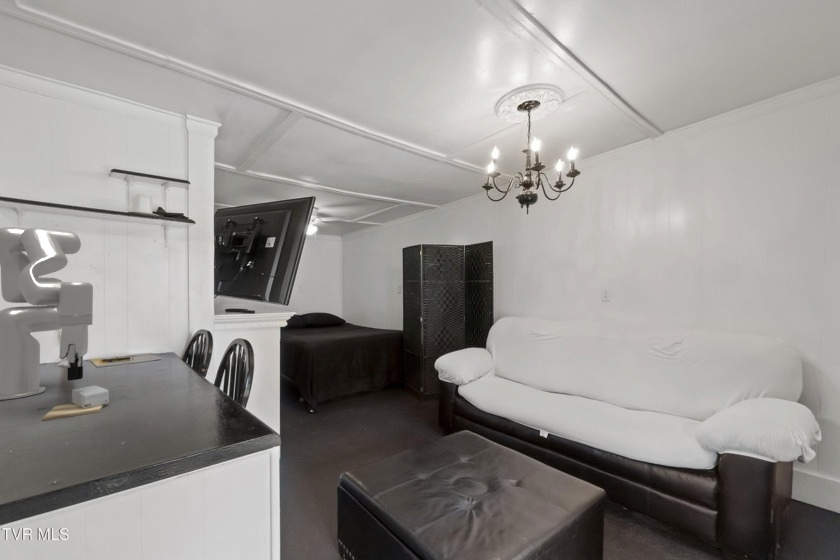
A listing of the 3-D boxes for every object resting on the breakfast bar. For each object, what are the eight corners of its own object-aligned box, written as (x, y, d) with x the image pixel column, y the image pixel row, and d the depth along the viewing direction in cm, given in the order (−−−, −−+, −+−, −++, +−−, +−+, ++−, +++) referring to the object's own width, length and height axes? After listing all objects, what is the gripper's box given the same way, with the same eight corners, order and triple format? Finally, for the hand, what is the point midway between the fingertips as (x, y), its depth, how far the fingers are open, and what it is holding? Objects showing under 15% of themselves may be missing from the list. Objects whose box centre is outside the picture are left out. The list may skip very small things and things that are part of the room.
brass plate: (55, 408, 107) (55, 405, 107) (106, 400, 114) (106, 398, 114) (42, 421, 97) (42, 418, 97) (99, 411, 103) (99, 409, 104)
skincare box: (95, 384, 115) (110, 388, 109) (96, 398, 115) (110, 402, 109) (70, 389, 110) (84, 394, 104) (70, 403, 110) (84, 409, 104)
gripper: (65, 320, 111) (64, 376, 111) (51, 323, 99) (50, 386, 99) (96, 318, 116) (96, 373, 115) (87, 321, 104) (86, 382, 103)
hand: (75, 379), depth 107 cm, fingers closed
